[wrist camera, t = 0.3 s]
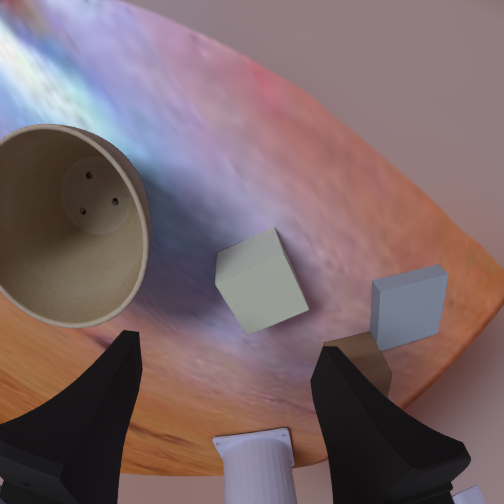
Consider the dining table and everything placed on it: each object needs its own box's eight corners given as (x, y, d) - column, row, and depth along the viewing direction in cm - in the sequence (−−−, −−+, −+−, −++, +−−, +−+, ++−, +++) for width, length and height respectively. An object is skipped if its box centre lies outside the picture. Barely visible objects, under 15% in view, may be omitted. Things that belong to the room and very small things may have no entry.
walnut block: (367, 363, 27) (385, 405, 22) (324, 374, 27) (338, 418, 22) (369, 331, 25) (392, 373, 20) (323, 342, 25) (339, 387, 20)
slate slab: (427, 320, 26) (437, 333, 24) (367, 337, 26) (375, 352, 24) (435, 261, 23) (448, 273, 21) (369, 277, 23) (380, 291, 21)
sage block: (296, 276, 22) (309, 309, 19) (243, 298, 23) (246, 335, 19) (273, 226, 21) (283, 254, 17) (217, 252, 21) (215, 284, 17)
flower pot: (171, 271, 21) (150, 342, 15) (42, 256, 20) (-9, 311, 14) (181, 116, 17) (153, 124, 11) (35, 117, 16) (-37, 132, 9)
